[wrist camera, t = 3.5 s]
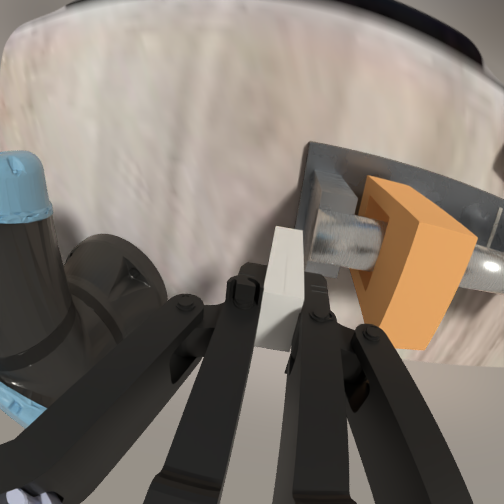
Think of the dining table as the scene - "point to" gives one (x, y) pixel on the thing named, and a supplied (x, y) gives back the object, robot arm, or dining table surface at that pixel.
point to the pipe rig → (373, 231)
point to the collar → (410, 263)
